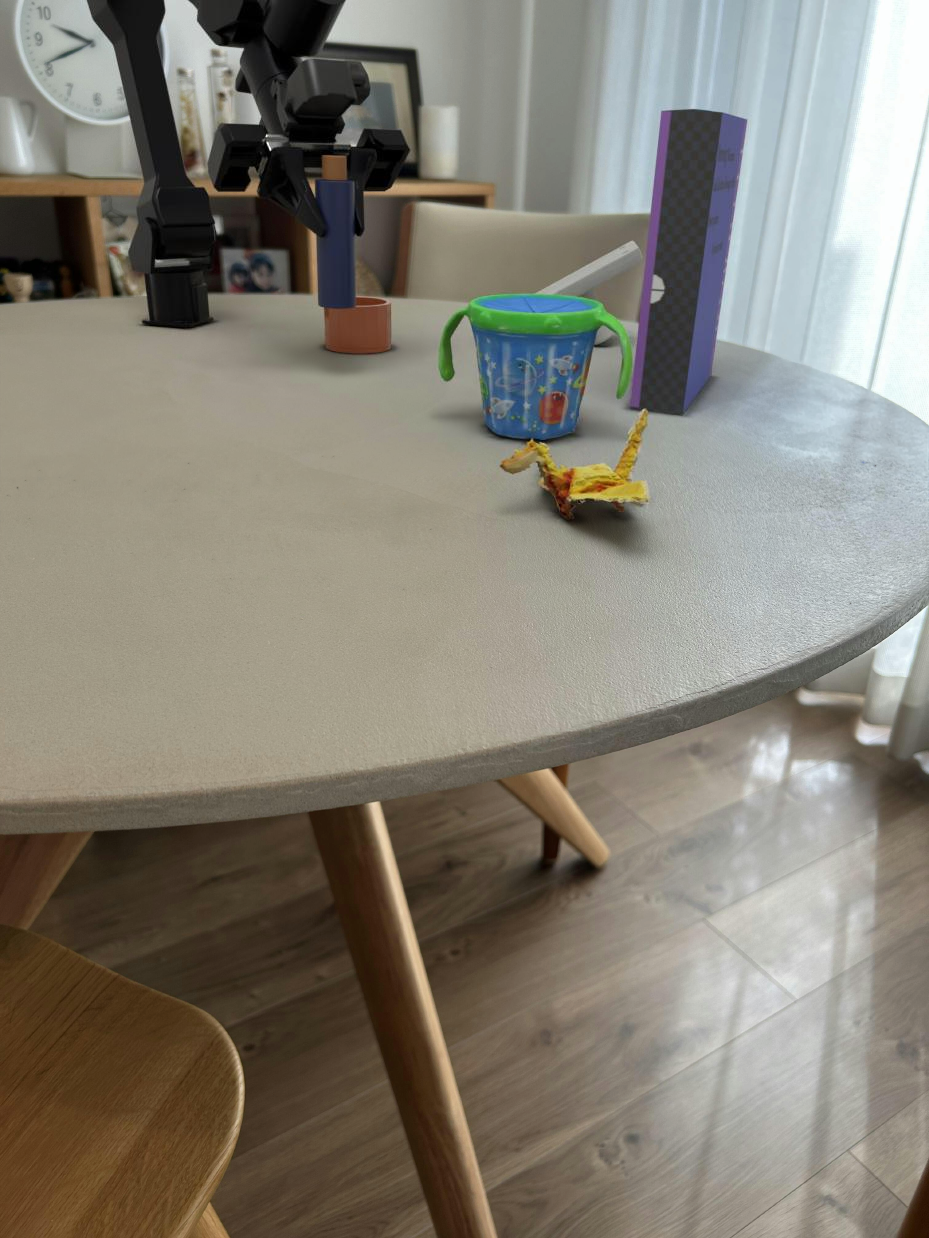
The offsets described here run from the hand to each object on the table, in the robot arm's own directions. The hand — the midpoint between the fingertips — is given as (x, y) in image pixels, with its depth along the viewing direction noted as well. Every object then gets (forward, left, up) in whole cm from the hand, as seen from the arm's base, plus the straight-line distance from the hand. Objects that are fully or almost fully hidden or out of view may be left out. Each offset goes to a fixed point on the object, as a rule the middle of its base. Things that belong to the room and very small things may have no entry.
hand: (342, 234), depth 88 cm
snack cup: (+21, -12, -13) cm, 28 cm away
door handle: (+14, +32, -13) cm, 38 cm away
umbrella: (-1, +1, -7) cm, 7 cm away
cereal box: (+31, +7, -13) cm, 35 cm away
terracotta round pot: (-5, +15, -13) cm, 21 cm away
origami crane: (+29, -30, -13) cm, 44 cm away
